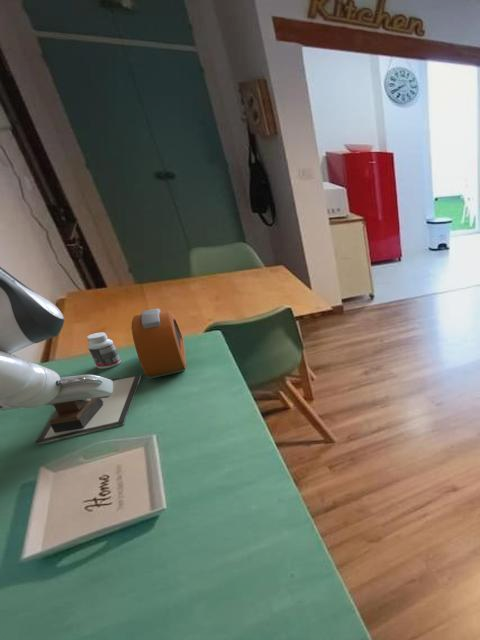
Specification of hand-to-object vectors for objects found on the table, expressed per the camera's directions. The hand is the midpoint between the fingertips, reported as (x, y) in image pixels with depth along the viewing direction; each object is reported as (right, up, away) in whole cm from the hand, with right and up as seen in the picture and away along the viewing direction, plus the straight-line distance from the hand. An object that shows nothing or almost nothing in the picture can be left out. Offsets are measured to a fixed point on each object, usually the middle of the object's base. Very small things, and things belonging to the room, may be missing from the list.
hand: (73, 400), depth 98 cm
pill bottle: (-16, +7, +25) cm, 31 cm away
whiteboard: (-2, -2, +7) cm, 8 cm away
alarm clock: (0, +7, +27) cm, 28 cm away
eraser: (0, -5, +1) cm, 5 cm away
